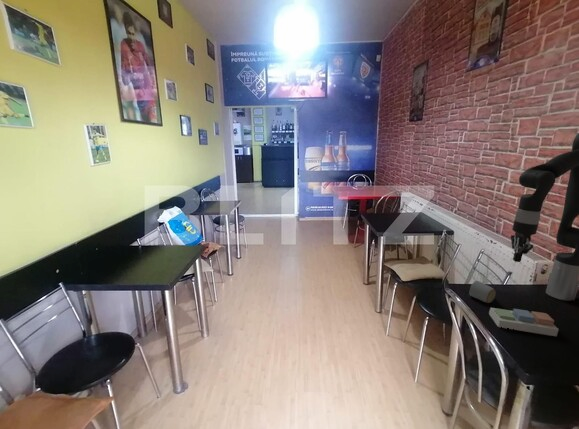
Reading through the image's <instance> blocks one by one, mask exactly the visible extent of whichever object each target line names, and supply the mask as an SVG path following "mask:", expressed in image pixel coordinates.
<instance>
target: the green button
mask: <svg viewBox="0 0 579 429" xmlns="http://www.w3.org/2000/svg"><path fill="white" fill-rule="evenodd" d="M494 308H495V307H494ZM503 309H504V308H503ZM503 309H502V308H497V309H496V308H495V313H496V314H497V315H498V317H499V318H503V319H509V320H515V316H514V315H513V314H512V313H511V312H510V311H511V310H510V309H509V310H510V311H509V310H508V309H504V310H503Z"/></svg>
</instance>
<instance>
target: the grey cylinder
mask: <svg viewBox="0 0 579 429" xmlns="http://www.w3.org/2000/svg"><path fill="white" fill-rule="evenodd" d="M496 293H497V292H496V290H495V289H494V288H493V287H491V286H489V285H488V284H485V283H484V282H481V281H479V280H475V281H473V283H472V284H471V285H470V288H469V292H468V294H469V296H470V297H472V298H475V299H476V300H479V301H481V302H483V303H487V304H491V303H492V302H493V301H494V299H495V297H496V295H497V294H496Z"/></svg>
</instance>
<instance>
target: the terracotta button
mask: <svg viewBox="0 0 579 429" xmlns="http://www.w3.org/2000/svg"><path fill="white" fill-rule="evenodd" d="M530 313H531V314H532V315H533V316H534V318H535V320H534V321H535V322H536V323H537V324H542V325H548V326H553V324H554V323H555V319H553V318H552V317H551V316H550V315H549V314H548V313H546V312H539V311H530ZM554 325H555V324H554Z"/></svg>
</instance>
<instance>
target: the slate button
mask: <svg viewBox="0 0 579 429" xmlns="http://www.w3.org/2000/svg"><path fill="white" fill-rule="evenodd" d="M512 311H513V312H512V314H513V315H514V316H515V318H516V319H517V320H518V321H522V322H529V323H534V320H535V318H534V316H533V315H532V314H531V311H529V310H526V309H519V308H512Z"/></svg>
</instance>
